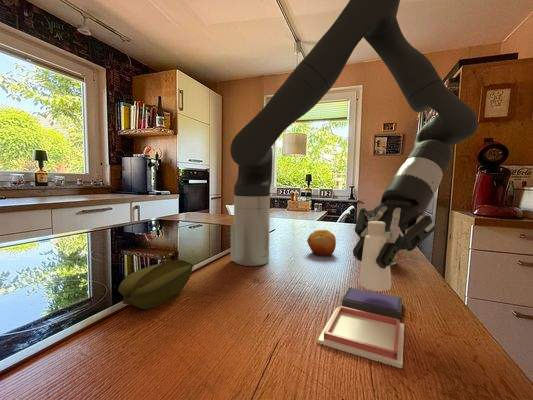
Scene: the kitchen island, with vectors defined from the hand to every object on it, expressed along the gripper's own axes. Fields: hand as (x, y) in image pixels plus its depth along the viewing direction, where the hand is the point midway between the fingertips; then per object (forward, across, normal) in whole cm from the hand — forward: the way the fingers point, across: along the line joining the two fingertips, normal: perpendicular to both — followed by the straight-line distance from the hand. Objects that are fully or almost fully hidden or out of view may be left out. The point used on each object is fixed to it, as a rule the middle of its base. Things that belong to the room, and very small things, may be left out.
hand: (368, 261), depth 45 cm
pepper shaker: (+2, 0, +5) cm, 5 cm away
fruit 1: (+26, -21, -15) cm, 37 cm away
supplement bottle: (-12, -14, +24) cm, 31 cm away
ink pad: (+5, 0, +7) cm, 8 cm away
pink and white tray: (+11, +5, +1) cm, 12 cm away
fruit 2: (-6, -28, +18) cm, 34 cm away
